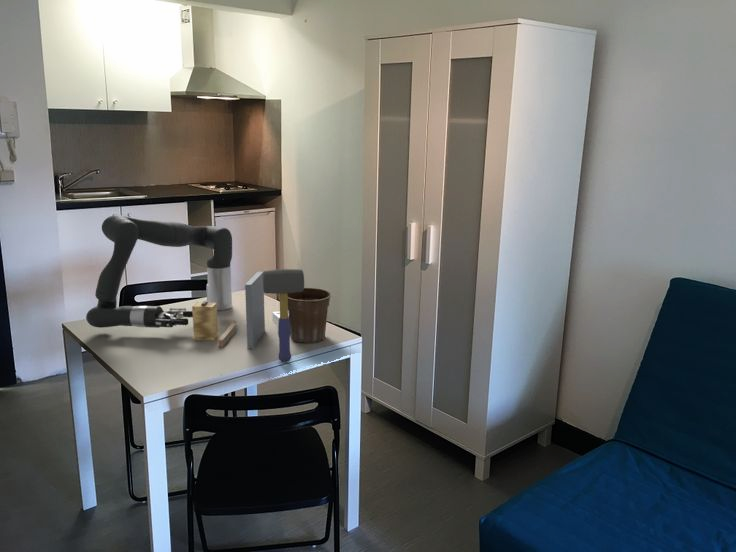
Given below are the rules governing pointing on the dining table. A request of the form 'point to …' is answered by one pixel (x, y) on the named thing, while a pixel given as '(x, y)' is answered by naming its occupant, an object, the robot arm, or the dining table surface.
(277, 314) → the bracket
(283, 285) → the rubber mallet
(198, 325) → the ochre block
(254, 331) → the wall board
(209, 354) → the dining table surface
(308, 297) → the plant pot
